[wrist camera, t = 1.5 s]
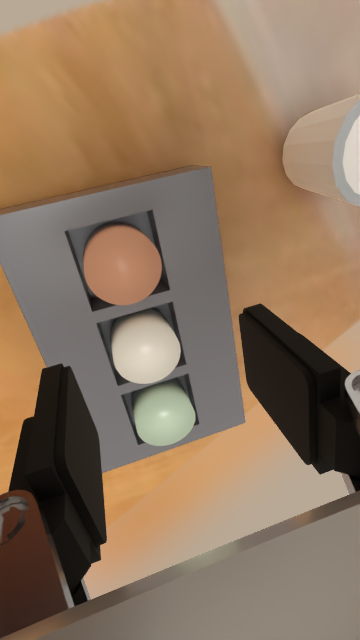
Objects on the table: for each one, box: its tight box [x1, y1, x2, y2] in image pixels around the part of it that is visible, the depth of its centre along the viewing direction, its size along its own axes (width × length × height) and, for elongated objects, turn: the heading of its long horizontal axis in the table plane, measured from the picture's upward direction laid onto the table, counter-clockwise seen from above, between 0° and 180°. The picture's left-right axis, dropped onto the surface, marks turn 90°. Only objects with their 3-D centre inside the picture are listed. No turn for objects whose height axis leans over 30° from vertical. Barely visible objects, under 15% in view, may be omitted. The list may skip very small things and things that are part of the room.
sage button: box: [131, 378, 195, 446], centre depth 29 cm, size 5×5×3 cm
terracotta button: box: [83, 222, 162, 305], centre depth 23 cm, size 5×5×3 cm
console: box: [0, 165, 245, 473], centre depth 27 cm, size 14×22×4 cm, turn 11°
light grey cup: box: [282, 93, 360, 207], centre depth 24 cm, size 7×7×7 cm
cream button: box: [110, 308, 181, 384], centre depth 26 cm, size 5×5×3 cm
